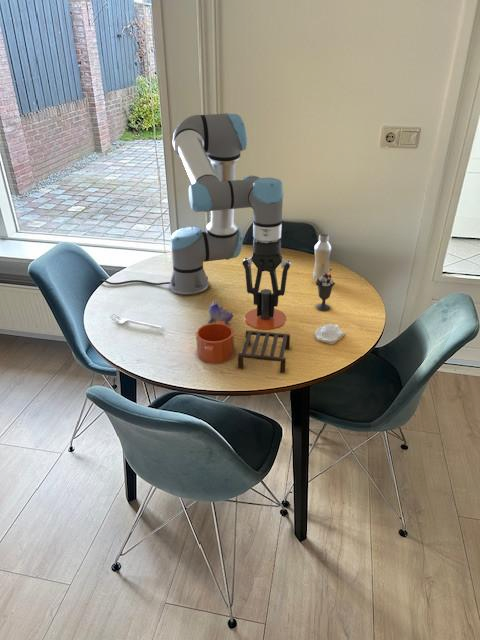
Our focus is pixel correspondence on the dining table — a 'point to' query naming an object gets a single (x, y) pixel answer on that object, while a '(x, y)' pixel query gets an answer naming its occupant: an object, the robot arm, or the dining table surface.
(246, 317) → the lid
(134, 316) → the dining table surface
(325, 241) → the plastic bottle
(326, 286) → the sundae
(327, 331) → the rose
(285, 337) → the rack
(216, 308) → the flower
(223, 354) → the pot
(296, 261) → the dining table surface
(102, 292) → the dining table surface
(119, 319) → the cooking utensil
